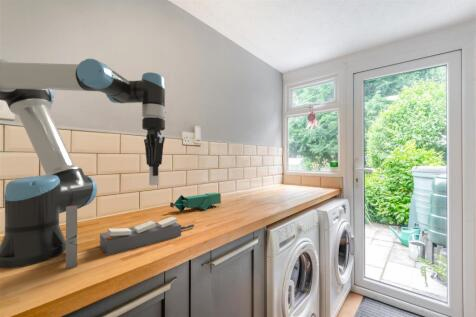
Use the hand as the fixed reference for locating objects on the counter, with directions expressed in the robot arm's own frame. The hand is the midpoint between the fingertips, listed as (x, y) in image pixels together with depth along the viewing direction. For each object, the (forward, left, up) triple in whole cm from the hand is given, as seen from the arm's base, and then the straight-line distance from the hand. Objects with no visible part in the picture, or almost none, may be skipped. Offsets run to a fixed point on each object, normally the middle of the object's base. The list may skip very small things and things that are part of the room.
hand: (153, 185), depth 76 cm
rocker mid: (-3, 0, -14) cm, 15 cm away
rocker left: (-11, 0, -14) cm, 18 cm away
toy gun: (-23, +1, -20) cm, 30 cm away
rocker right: (+5, 0, -14) cm, 15 cm away
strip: (+1, +2, -19) cm, 20 cm away
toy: (+36, +31, -20) cm, 52 cm away
